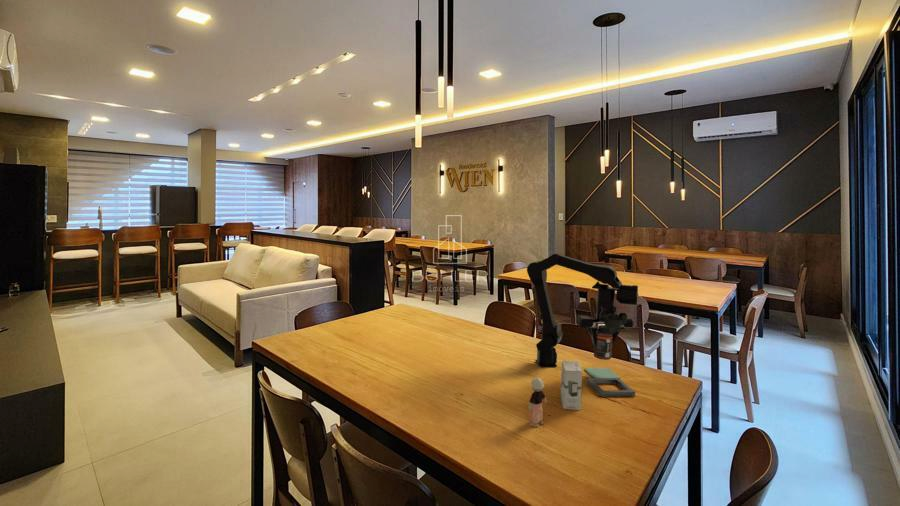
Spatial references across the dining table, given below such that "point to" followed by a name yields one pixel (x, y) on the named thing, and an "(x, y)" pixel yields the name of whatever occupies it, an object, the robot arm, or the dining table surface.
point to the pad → (601, 373)
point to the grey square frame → (610, 393)
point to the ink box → (571, 385)
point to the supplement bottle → (603, 343)
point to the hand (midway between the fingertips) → (603, 345)
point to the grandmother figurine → (536, 403)
